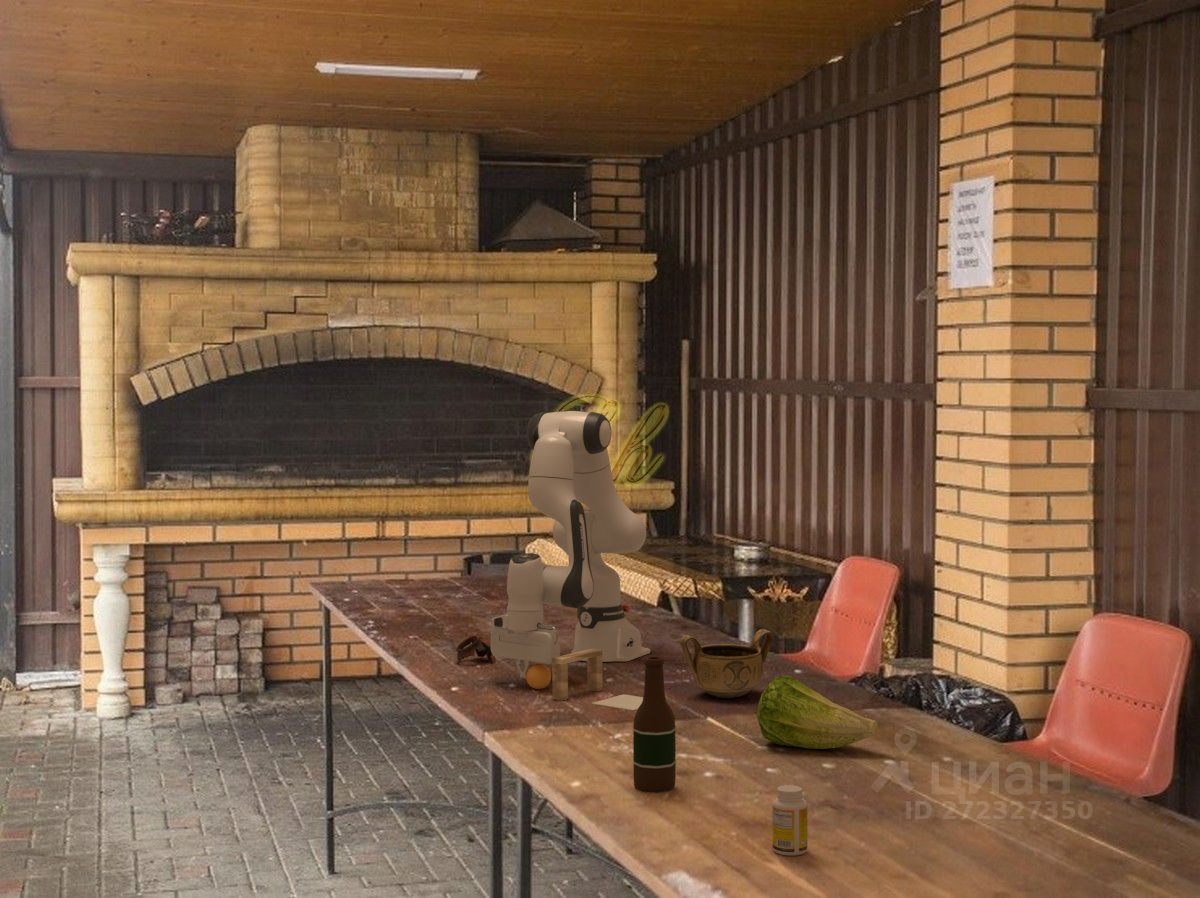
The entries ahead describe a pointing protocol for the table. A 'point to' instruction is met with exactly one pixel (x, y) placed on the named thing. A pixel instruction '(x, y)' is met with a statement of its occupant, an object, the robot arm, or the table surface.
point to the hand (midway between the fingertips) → (525, 678)
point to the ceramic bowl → (728, 665)
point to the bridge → (562, 672)
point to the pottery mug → (475, 648)
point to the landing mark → (622, 702)
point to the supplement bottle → (789, 821)
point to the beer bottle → (654, 734)
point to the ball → (538, 676)
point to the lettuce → (807, 717)
